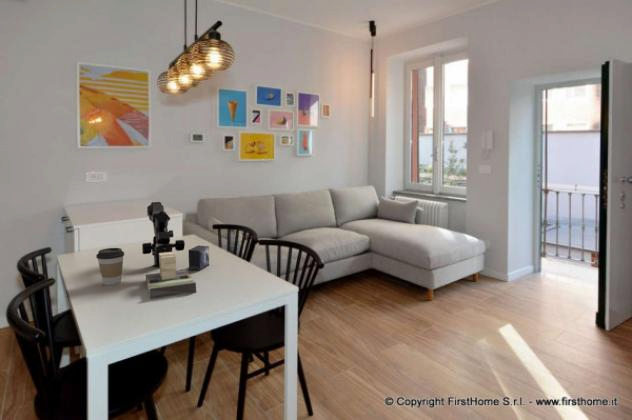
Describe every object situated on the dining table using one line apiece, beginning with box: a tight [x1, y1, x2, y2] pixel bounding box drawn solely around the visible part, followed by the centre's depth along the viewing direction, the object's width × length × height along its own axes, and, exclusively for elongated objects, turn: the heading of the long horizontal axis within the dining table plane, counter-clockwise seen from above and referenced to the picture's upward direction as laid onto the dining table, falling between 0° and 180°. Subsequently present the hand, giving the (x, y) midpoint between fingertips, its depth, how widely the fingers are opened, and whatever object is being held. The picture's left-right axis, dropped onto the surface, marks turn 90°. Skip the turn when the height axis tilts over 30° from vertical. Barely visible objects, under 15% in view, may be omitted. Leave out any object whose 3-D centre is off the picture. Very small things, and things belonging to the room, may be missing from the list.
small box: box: [188, 245, 210, 272], centre depth 204 cm, size 11×6×10 cm, turn 168°
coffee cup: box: [95, 247, 125, 286], centre depth 180 cm, size 11×11×15 cm
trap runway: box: [145, 269, 197, 300], centre depth 176 cm, size 25×18×4 cm
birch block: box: [159, 251, 177, 280], centre depth 180 cm, size 9×6×10 cm, turn 26°
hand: (165, 262), depth 187 cm, fingers closed
